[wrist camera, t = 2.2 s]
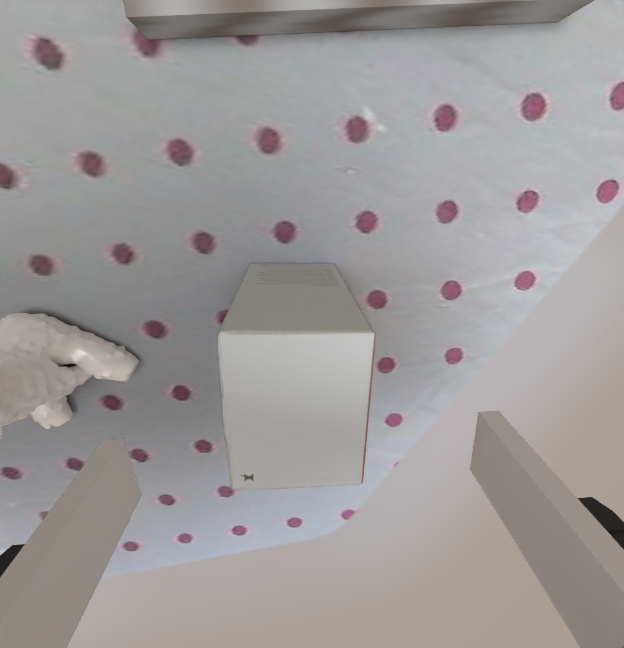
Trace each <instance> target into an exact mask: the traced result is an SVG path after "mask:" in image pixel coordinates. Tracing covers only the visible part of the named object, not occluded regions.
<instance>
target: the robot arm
mask: <svg viewBox="0 0 624 648" xmlns="http://www.w3.org/2000/svg"><path fill="white" fill-rule="evenodd" d="M470 470H471V471H472V473H473V475H474V476H475V478H476V479H477V481H478V483H479V484H480V486H481V488H482V489H483V491H484V492H485V494H486V496H487V497H488V499H489V501H490V502H491V504H492V506H493V507H494V509H495V510H496V512H497V514H498V515H499V517H500V519H501V520H502V522H503V523H504V525H505V527H506V528H507V530H508V532H509V533H510V535H511V536H512V538H513V540H514V541H515V543H516V544H517V546H518V548H519V549H520V551H521V553H522V554H523V556H524V557H525V559H526V561H527V562H528V564H529V566H530V567H531V569H532V571H533V572H534V574H535V575H536V577H537V579H538V580H539V582H540V583H541V585H542V587H543V588H544V590H545V592H546V593H547V595H548V596H549V598H550V599H551V601H552V603H553V605H554V606H555V608H556V609H557V611H558V613H559V614H560V616H561V617H562V619H563V621H564V622H565V624H566V626H567V627H568V629H569V631H570V632H571V634H572V635H573V637H574V639H575V640H576V642H577V644H578V645H579V647H580V648H624V522H623V521H622V520H621V519H620V518H619V517H618V516H617V515H616V514H615V513H614V512H613V511H612V510H610V509H609V508H607V507H606V506H604V505H602V504H601V503H600V502H598V501H597V500H595V499H594V498H592V497H587V498H577V497H576V496H575V495H574V494H573V493H572V492H571V491H570V489H569V488H568V487H567V486H566V485H565V484H564V483H563V482H562V481H561V479H560V478H559V477H558V476H557V475H556V474H555V473H554V472H553V471H552V469H550V467H549V466H548V465H547V464H546V463H545V462H544V461H543V459H541V457H540V456H539V455H538V454H537V453H536V452H535V451H534V449H533V448H532V447H531V446H530V445H529V444H528V443H527V442H526V441H525V440H524V438H523V437H522V436H521V435H520V434H519V433H518V432H517V431H516V430H515V428H514V427H513V426H512V425H511V424H510V423H509V422H508V421H507V419H506V418H505V417H504V416H503V415H502V414H501V413H500V412H499V411H488V412H478V418H477V425H476V433H475V440H474V446H473V453H472V460H471V467H470ZM140 497H141V492H140V489H139V486H138V483H137V479H136V476H135V473H134V470H133V467H132V463H131V460H130V457H129V454H128V451H127V447H126V444H125V441H124V439H113V440H102V442H101V443H100V444H99V446H98V447H97V448H96V450H95V451H94V452H93V454H92V455H91V456H90V458H89V459H88V460H87V462H86V463H85V465H84V466H83V467H82V469H81V470H80V471H79V473H78V474H77V475H76V477H75V478H74V479H73V481H72V482H71V483H70V485H69V486H68V487H67V489H66V490H65V491H64V493H63V494H62V495H61V497H60V498H59V499H58V501H57V502H56V503H55V505H54V506H53V507H52V509H51V510H50V511H49V513H48V514H47V515H46V517H45V518H44V520H43V521H42V522H41V524H40V525H39V526H38V528H37V529H36V530H35V532H34V533H33V534H32V536H31V537H30V538H29V540H28V541H27V542H26V544H21V545H12V546H11V547H10V548H9V549H7V550H6V551H5V552H4V553H3V554H2V555H0V648H67V646H68V644H69V642H70V640H71V638H72V636H73V634H74V632H75V630H76V628H77V626H78V624H79V622H80V620H81V617H82V615H83V613H84V611H85V609H86V607H87V605H88V603H89V601H90V599H91V597H92V595H93V593H94V591H95V589H96V587H97V585H98V583H99V581H100V579H101V577H102V575H103V573H104V570H105V568H106V566H107V564H108V562H109V560H110V558H111V556H112V554H113V552H114V550H115V548H116V546H117V544H118V542H119V540H120V538H121V536H122V534H123V532H124V530H125V528H126V526H127V524H128V521H129V519H130V517H131V515H132V513H133V511H134V509H135V507H136V505H137V503H138V501H139V499H140Z"/></svg>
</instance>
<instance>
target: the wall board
mask: <svg viewBox="0 0 624 648" xmlns="http://www.w3.org/2000/svg"><path fill="white" fill-rule="evenodd" d="M592 1H594V0H123V2H124V7H125V12H126V17H127V18H128V19H129V20H130V21H131V22H132V23H133V24H134V25H135V26H136V27H137V28H138V29H139V30H140V31H141V32H142V33H143V34H144V35H145V36H146V37H147V38H148V39H149V40H154V39H177V38H200V37H223V36H246V35H269V34H292V33H315V32H337V31H360V30H383V29H406V28H429V27H452V26H475V25H498V24H521V23H544V22H559V21H560V20H562V19H564V18H565V17H567V16H569V15H570V14H572V13H574V12H575V11H577V10H579V9H581V8H582V7H584V6H586V5H587V4H589V3H591V2H592Z"/></svg>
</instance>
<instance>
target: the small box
mask: <svg viewBox="0 0 624 648" xmlns="http://www.w3.org/2000/svg"><path fill="white" fill-rule="evenodd" d="M375 335H376V333H375V332H374V330H373V329H372V327H371V325H370V323H369V322H368V320H367V319H366V317H365V315H364V313H363V312H362V310H361V308H360V306H359V305H358V303H357V301H356V300H355V298H354V296H353V295H352V293H351V291H350V289H349V288H348V286H347V284H346V283H345V281H344V279H343V277H342V276H341V274H340V272H339V271H338V269H337V267H336V265H335V264H333V263H251V264H249V267H248V269H247V271H246V273H245V276H244V278H243V280H242V282H241V284H240V286H239V288H238V291H237V293H236V295H235V297H234V299H233V301H232V304H231V306H230V308H229V311H228V313H227V315H226V317H225V319H224V321H223V323H222V326H221V328H220V330H219V332H218V334H217V342H218V358H219V372H220V384H221V397H222V418H223V428H224V437H225V441H226V447H227V456H228V465H229V473H230V482H231V488H232V489H233V490H235V489H279V488H303V487H321V486H342V485H360V484H362V482H363V475H364V464H365V453H366V441H367V429H368V418H369V407H370V396H371V382H372V371H373V358H374V347H375Z"/></svg>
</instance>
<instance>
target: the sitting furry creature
mask: <svg viewBox="0 0 624 648" xmlns="http://www.w3.org/2000/svg"><path fill="white" fill-rule="evenodd" d="M71 363H72V364H75V366H72V367H69V368H68V367H66V366H64V367H61V365H65V364H71ZM138 363H139V360H138V359H137V358H136V357H135V356H134V355H133V354H131V353H130V352H128V351H127V350H126V349H125V346H124V345H123V346H116V345H115V343H112V342H108V341H106V340H103V338H100V337H97V336H95V335H94V334H93V333H91V332H85V331H82V330H80V329H79V328H78V327H77V326H70V325H68V324H66V323H63V322H62V321H60V320H57V319H56V318H55V317H48V316H47V315H46V314H43V313H40V314H28V313H10V314H7V315H6V316H4V317H3V318H0V439H1V438H2V437H3V431H2V428H1V426H4V425H7V424H11V423H12V422H14V421H16V420H22V419H24V418H26V417H27V416H28V414H30V415H31V416H32V417H33V419H34V421H35V422H39V424H40V425H41V426H43V427H44V428H45V429H49V428H50V427H51V426H52V425H53V426H54V427H57V426H60V425H62V424H64V423H66V422H67V421H69V420H70V419H71V418H72V417H73V413H72V410H71V408H70V405H69V404H68V402H67V397H66V395H69V394H71V393H72V392H73V391H74V389H75V387H77V386H78V385H82V384H84V383H85V382H86V381H87V379H89V378H90V377H91V376H92V375H93V376H94V377H95V378H97V379H107V380H115V381H127V380H128V379H129V378H130V376H131V375H132V374H133V372H134V370H135V369H136V367H137V365H138Z"/></svg>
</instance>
